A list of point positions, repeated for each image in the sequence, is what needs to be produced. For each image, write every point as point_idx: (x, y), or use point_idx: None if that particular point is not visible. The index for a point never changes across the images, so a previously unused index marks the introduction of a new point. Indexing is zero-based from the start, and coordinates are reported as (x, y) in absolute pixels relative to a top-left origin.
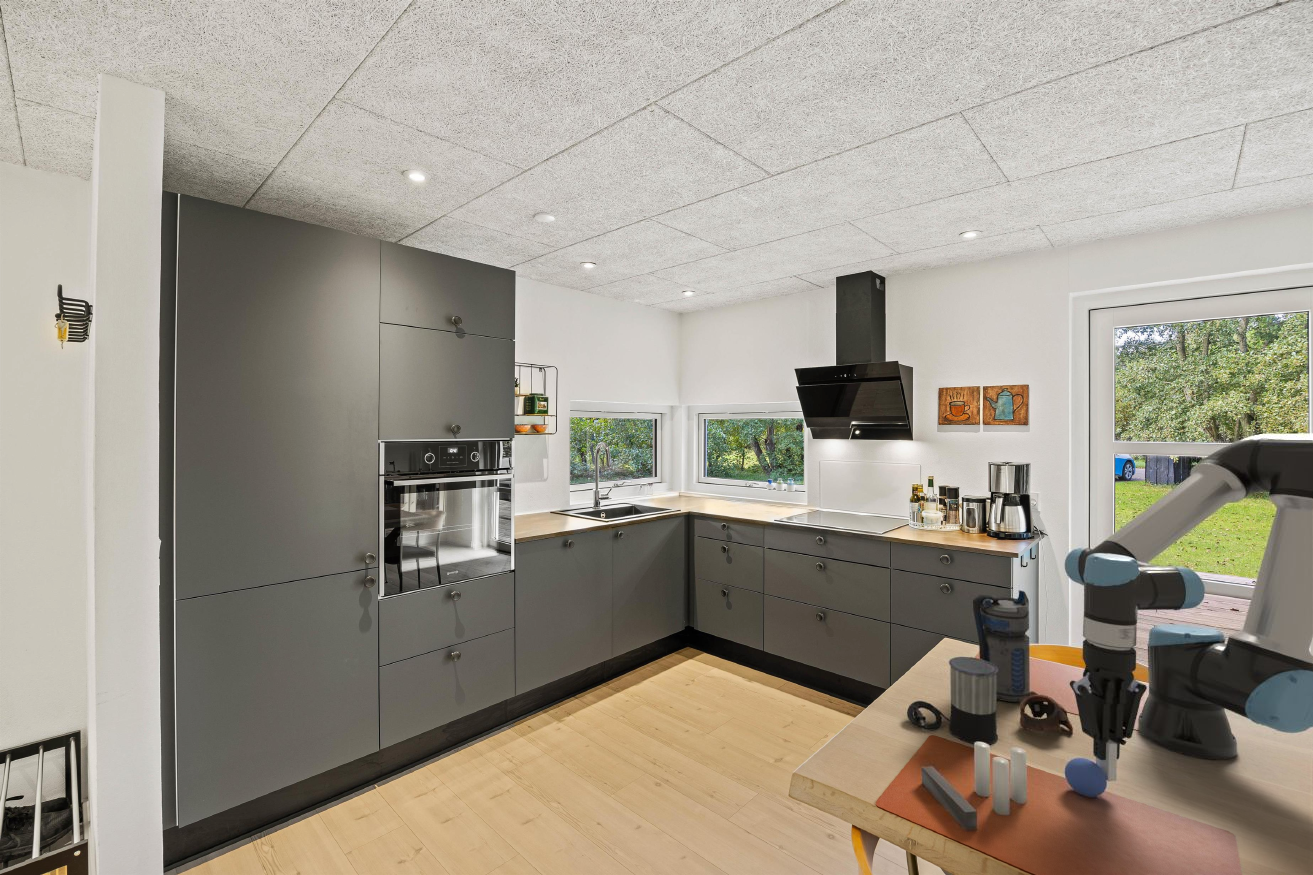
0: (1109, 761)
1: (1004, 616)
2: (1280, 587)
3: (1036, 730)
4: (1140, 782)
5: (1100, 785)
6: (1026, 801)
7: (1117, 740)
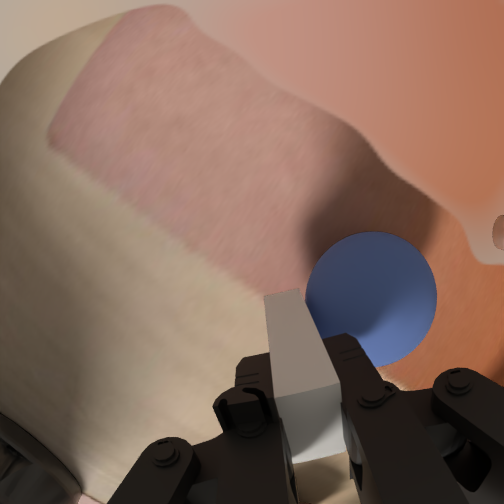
0: (310, 324)
1: None
2: None
3: (305, 502)
4: (141, 357)
5: (362, 235)
6: (496, 221)
7: (276, 411)
